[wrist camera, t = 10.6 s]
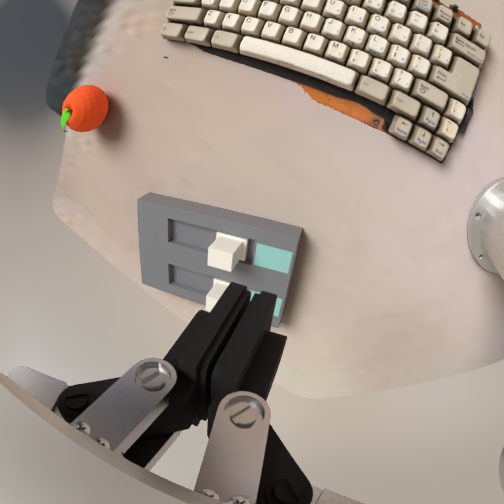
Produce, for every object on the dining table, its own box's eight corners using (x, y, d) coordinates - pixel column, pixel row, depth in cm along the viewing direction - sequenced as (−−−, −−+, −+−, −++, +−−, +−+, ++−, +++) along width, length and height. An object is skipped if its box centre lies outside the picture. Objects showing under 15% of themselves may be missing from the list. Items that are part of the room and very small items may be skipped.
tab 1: (249, 237, 39) (237, 253, 35) (246, 258, 40) (234, 275, 37) (219, 229, 40) (204, 244, 36) (217, 250, 41) (203, 266, 37)
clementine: (98, 141, 42) (65, 152, 36) (77, 112, 40) (44, 120, 34) (125, 104, 38) (90, 109, 32) (102, 74, 36) (66, 76, 30)
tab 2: (243, 283, 42) (232, 302, 38) (241, 301, 44) (230, 319, 40) (215, 275, 43) (202, 292, 39) (214, 292, 44) (202, 310, 41)
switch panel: (302, 227, 38) (298, 238, 36) (283, 314, 45) (278, 328, 43) (149, 192, 43) (136, 199, 40) (152, 273, 50) (141, 283, 47)
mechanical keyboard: (159, 61, 34) (144, 59, 31) (201, -58, 24) (190, -67, 21) (445, 166, 30) (454, 172, 27) (493, 33, 20) (504, 28, 17)
